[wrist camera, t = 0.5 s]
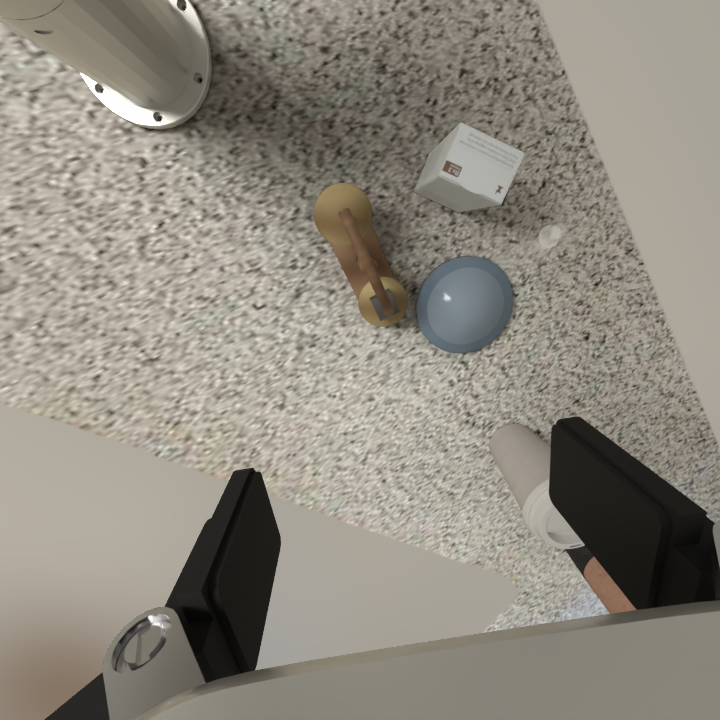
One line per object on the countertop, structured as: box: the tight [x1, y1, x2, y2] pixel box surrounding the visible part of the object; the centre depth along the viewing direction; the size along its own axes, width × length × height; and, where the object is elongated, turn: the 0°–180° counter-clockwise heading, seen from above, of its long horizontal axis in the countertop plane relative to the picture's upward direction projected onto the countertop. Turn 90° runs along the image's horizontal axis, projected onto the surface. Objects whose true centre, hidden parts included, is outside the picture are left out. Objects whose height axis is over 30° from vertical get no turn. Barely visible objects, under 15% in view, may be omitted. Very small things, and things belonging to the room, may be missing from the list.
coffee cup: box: [489, 424, 585, 549], centre depth 44 cm, size 10×10×15 cm
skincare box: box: [414, 122, 525, 212], centre depth 33 cm, size 6×4×12 cm
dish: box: [416, 256, 513, 353], centre depth 43 cm, size 12×12×1 cm
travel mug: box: [565, 545, 637, 614], centre depth 47 cm, size 8×8×20 cm
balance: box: [314, 183, 408, 326], centre depth 35 cm, size 16×6×12 cm, turn 26°
